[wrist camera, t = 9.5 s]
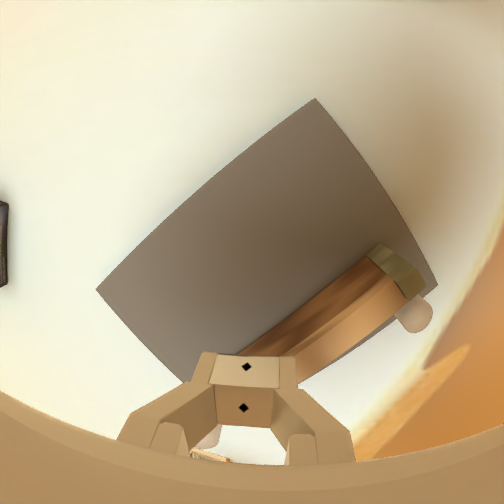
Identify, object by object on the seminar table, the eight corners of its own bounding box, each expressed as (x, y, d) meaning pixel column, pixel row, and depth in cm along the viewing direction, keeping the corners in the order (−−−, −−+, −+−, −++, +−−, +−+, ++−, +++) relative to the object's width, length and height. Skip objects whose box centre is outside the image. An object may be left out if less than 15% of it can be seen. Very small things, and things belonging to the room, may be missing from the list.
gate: (236, 375, 25) (226, 427, 19) (221, 362, 25) (207, 412, 19) (391, 258, 22) (428, 288, 15) (378, 240, 22) (414, 264, 15)
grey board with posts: (313, 101, 20) (336, 59, 12) (433, 281, 23) (487, 323, 15) (100, 285, 26) (44, 327, 17) (228, 414, 29) (215, 478, 20)
